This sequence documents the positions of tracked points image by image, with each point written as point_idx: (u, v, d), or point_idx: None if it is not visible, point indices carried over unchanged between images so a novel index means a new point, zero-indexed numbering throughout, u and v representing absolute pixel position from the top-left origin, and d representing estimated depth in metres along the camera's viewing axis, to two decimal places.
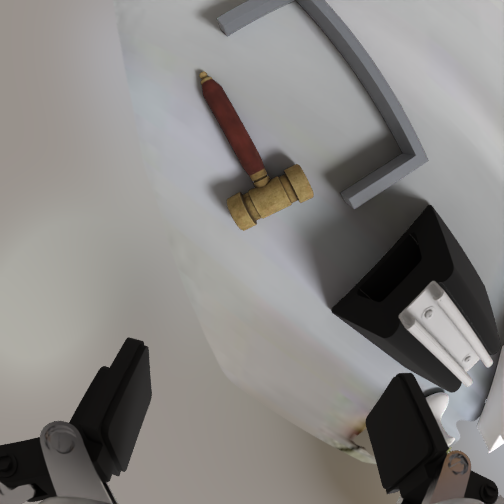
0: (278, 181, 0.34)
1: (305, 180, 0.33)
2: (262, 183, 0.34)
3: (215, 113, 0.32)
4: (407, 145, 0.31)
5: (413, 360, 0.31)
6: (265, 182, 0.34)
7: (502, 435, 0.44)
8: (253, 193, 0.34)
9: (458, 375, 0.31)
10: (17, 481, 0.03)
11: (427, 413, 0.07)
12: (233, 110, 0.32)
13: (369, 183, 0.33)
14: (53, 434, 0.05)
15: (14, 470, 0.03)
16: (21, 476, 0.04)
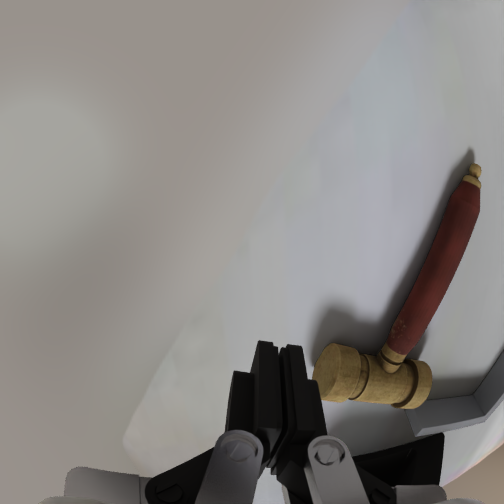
0: (406, 379, 0.19)
1: (425, 399, 0.19)
2: (392, 369, 0.19)
3: (447, 241, 0.16)
4: (487, 401, 0.22)
5: None
6: (395, 370, 0.19)
7: None
8: (374, 374, 0.19)
9: None
10: None
11: (301, 387, 0.08)
12: None
13: (443, 421, 0.21)
14: (227, 445, 0.06)
15: (188, 497, 0.05)
16: None
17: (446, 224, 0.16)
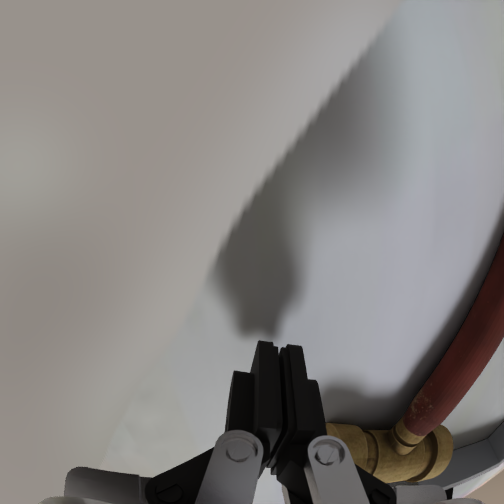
0: (422, 457, 0.12)
1: (442, 471, 0.12)
2: (407, 451, 0.12)
3: (503, 294, 0.09)
4: None
5: None
6: (410, 450, 0.12)
7: None
8: (384, 461, 0.12)
9: None
10: None
11: (301, 387, 0.08)
12: None
13: (456, 477, 0.14)
14: (228, 445, 0.06)
15: (188, 497, 0.05)
16: None
17: (503, 268, 0.09)
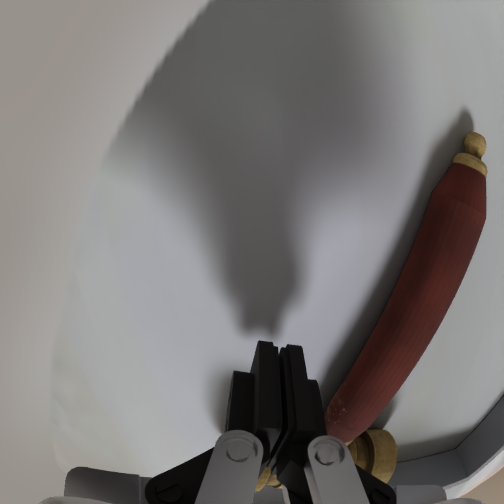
0: None
1: None
2: None
3: (424, 278, 0.09)
4: (473, 461, 0.14)
5: None
6: None
7: None
8: None
9: None
10: None
11: (301, 387, 0.08)
12: None
13: None
14: (228, 445, 0.06)
15: (188, 497, 0.05)
16: None
17: (423, 245, 0.09)
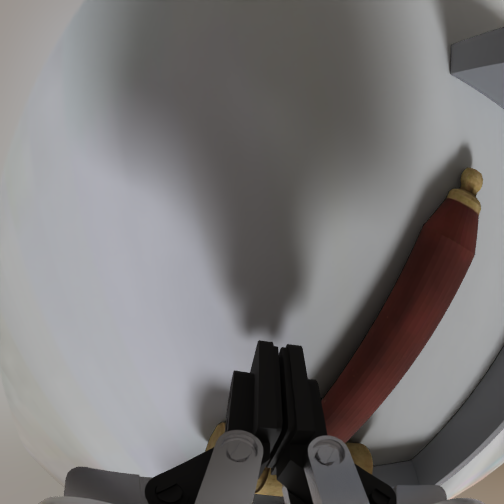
0: None
1: None
2: None
3: (407, 310, 0.09)
4: (428, 476, 0.14)
5: None
6: None
7: None
8: None
9: None
10: None
11: (301, 387, 0.08)
12: None
13: None
14: (228, 445, 0.06)
15: (188, 497, 0.05)
16: None
17: (409, 278, 0.10)
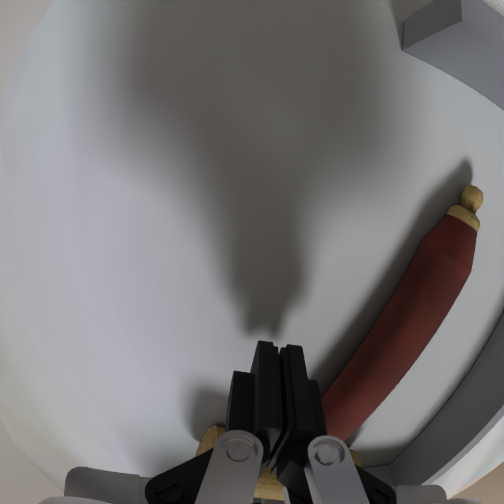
0: None
1: None
2: None
3: (402, 323, 0.10)
4: (405, 482, 0.14)
5: None
6: None
7: None
8: (267, 476, 0.12)
9: None
10: None
11: (301, 387, 0.08)
12: None
13: None
14: (227, 445, 0.06)
15: (188, 497, 0.05)
16: None
17: (405, 292, 0.10)
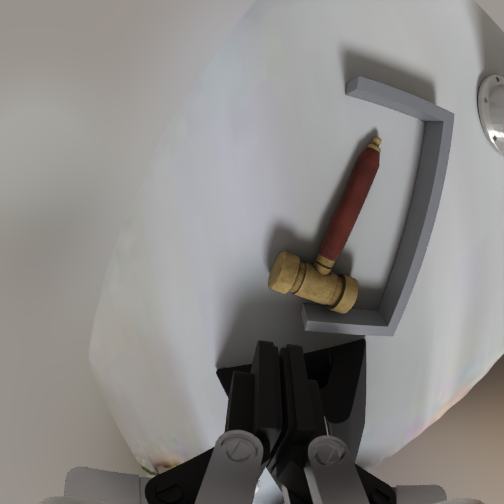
0: (335, 282, 0.32)
1: (353, 302, 0.32)
2: (323, 271, 0.32)
3: (354, 182, 0.29)
4: (388, 312, 0.34)
5: None
6: (326, 272, 0.32)
7: None
8: (310, 272, 0.32)
9: None
10: None
11: (301, 387, 0.08)
12: (366, 196, 0.30)
13: (334, 320, 0.34)
14: (228, 445, 0.06)
15: (188, 497, 0.05)
16: None
17: (353, 172, 0.30)
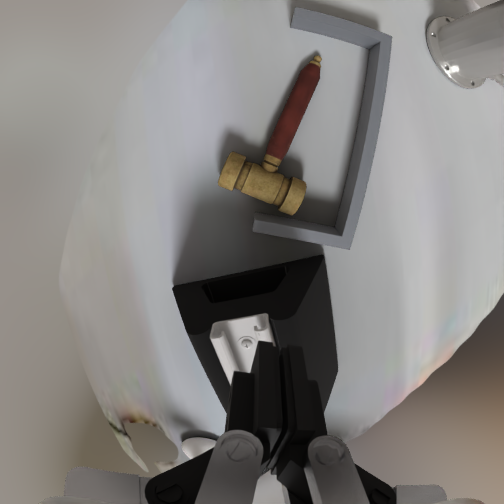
0: (281, 179, 0.33)
1: (300, 199, 0.33)
2: (269, 168, 0.33)
3: (295, 89, 0.31)
4: (342, 223, 0.35)
5: (209, 378, 0.32)
6: (272, 170, 0.33)
7: None
8: (255, 167, 0.33)
9: None
10: None
11: (301, 387, 0.08)
12: (308, 102, 0.31)
13: (283, 223, 0.35)
14: (228, 445, 0.06)
15: (188, 497, 0.05)
16: None
17: (295, 83, 0.31)
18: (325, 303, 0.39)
